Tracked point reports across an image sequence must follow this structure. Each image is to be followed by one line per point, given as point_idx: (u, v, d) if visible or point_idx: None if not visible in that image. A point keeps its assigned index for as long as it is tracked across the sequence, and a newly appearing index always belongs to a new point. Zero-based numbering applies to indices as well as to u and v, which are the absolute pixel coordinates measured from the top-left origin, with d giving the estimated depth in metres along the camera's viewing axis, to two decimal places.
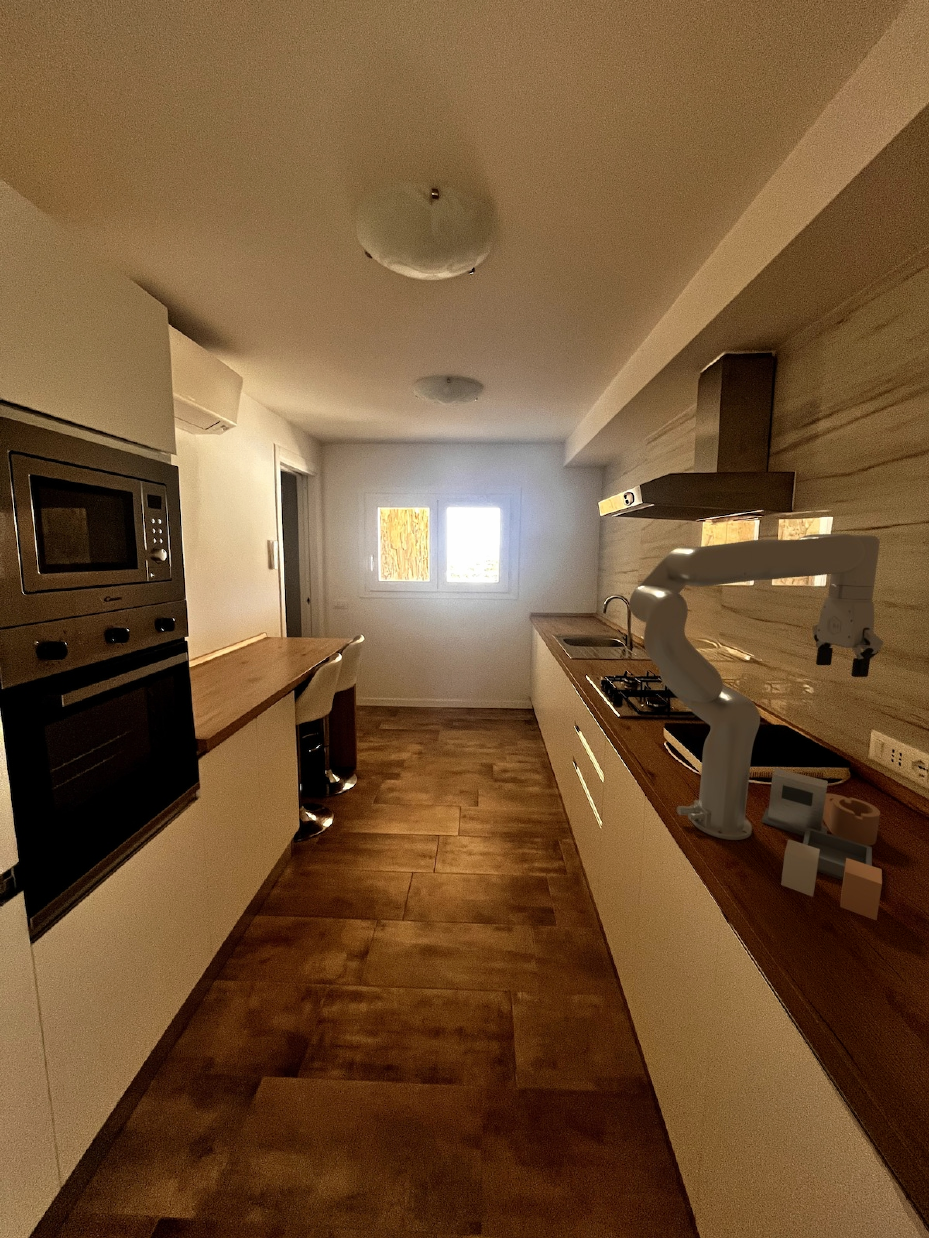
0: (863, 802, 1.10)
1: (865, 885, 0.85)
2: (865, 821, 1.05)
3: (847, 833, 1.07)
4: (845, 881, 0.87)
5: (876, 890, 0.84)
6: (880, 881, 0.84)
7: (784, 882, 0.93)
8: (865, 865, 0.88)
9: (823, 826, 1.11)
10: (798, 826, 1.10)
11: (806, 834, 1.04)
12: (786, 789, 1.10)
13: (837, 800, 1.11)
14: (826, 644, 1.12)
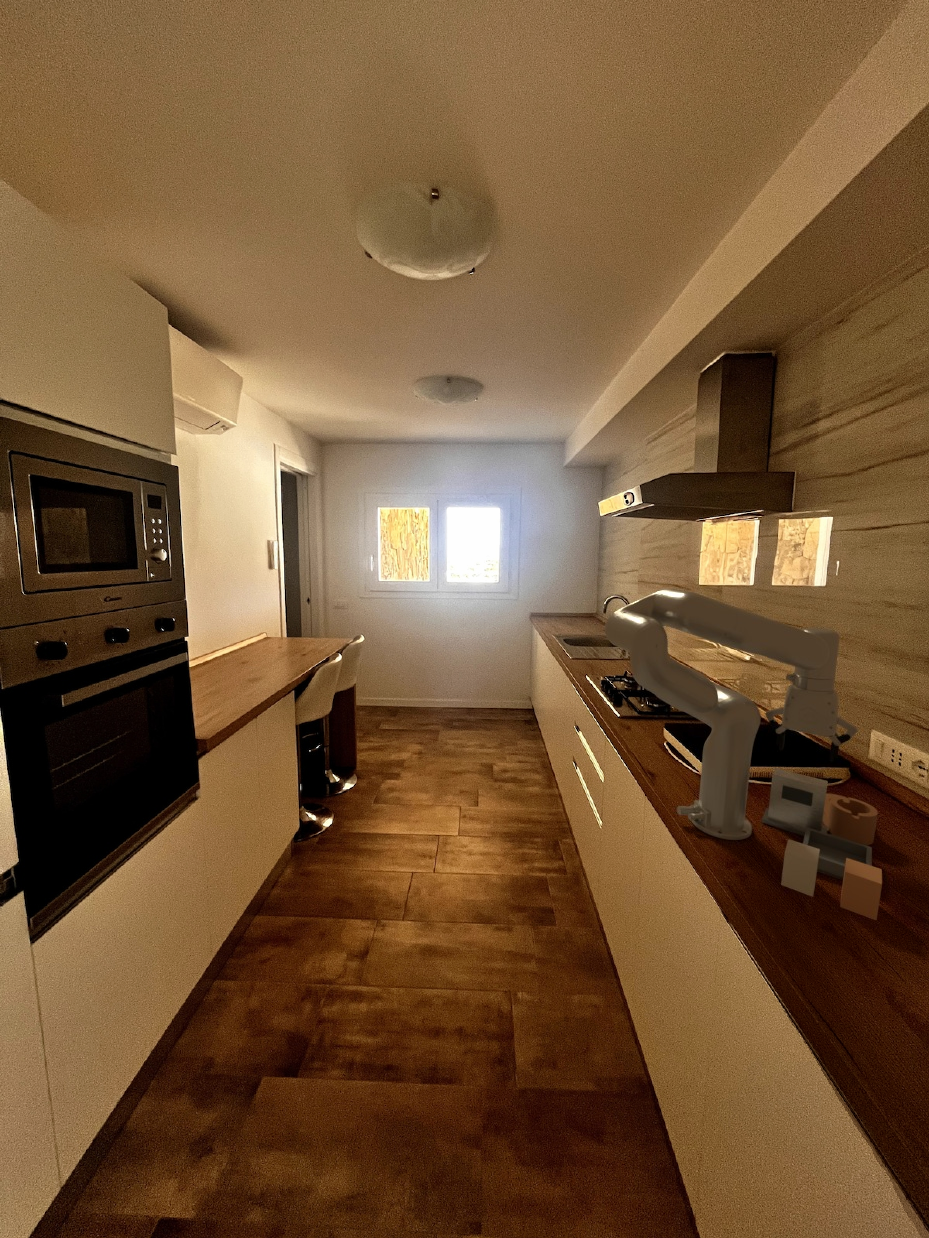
0: (861, 802, 1.10)
1: (865, 885, 0.85)
2: (862, 821, 1.05)
3: (844, 832, 1.07)
4: (845, 881, 0.87)
5: (876, 890, 0.84)
6: (880, 881, 0.84)
7: (784, 882, 0.93)
8: (865, 865, 0.88)
9: (823, 826, 1.11)
10: (798, 826, 1.10)
11: (806, 834, 1.04)
12: (786, 789, 1.10)
13: (835, 799, 1.11)
14: None
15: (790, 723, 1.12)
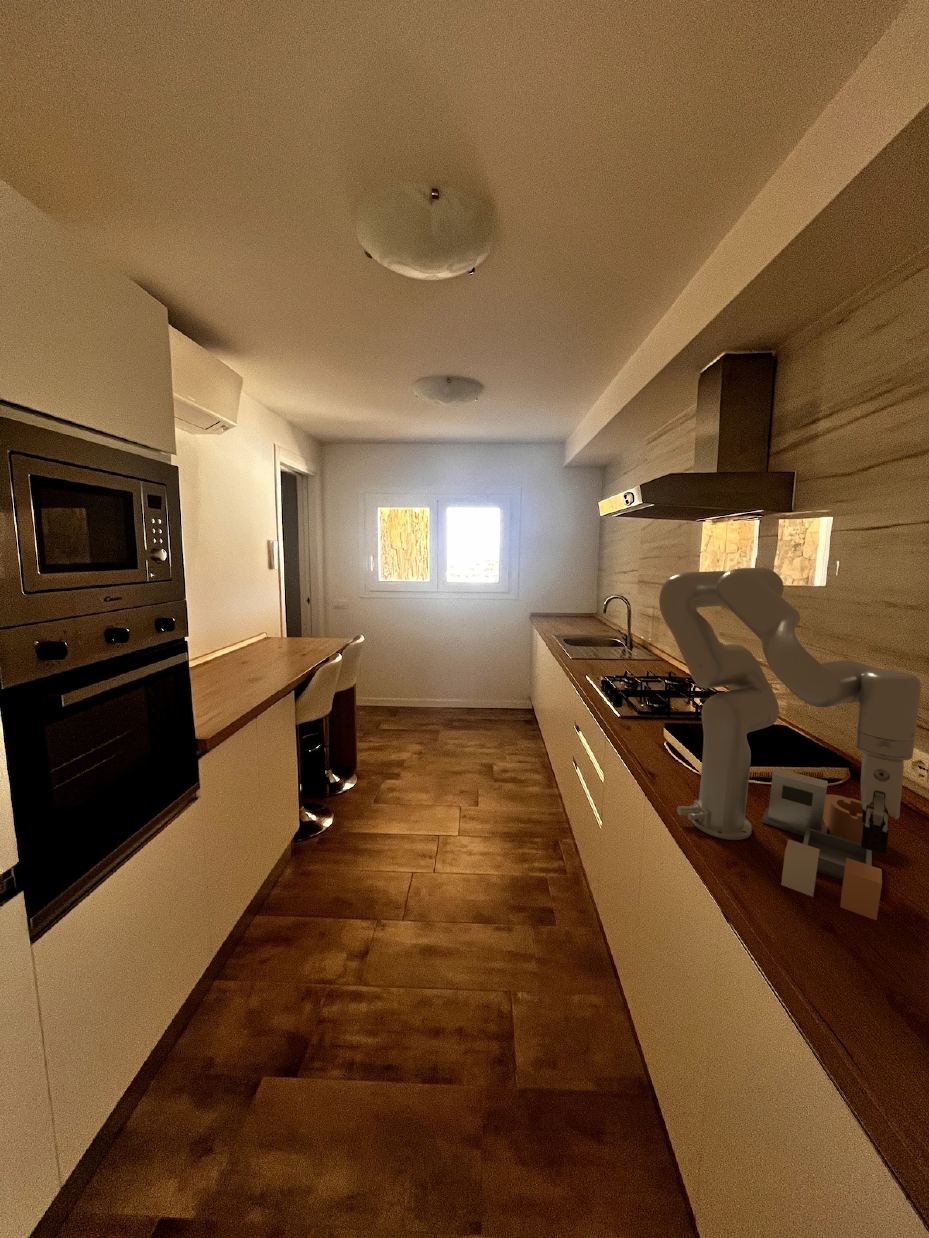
0: None
1: (865, 885, 0.85)
2: (860, 821, 1.05)
3: (842, 832, 1.07)
4: (845, 881, 0.87)
5: (876, 890, 0.84)
6: (880, 881, 0.84)
7: (784, 882, 0.93)
8: (865, 865, 0.88)
9: (823, 826, 1.11)
10: (798, 826, 1.10)
11: (806, 834, 1.04)
12: (786, 789, 1.10)
13: (835, 799, 1.11)
14: None
15: None
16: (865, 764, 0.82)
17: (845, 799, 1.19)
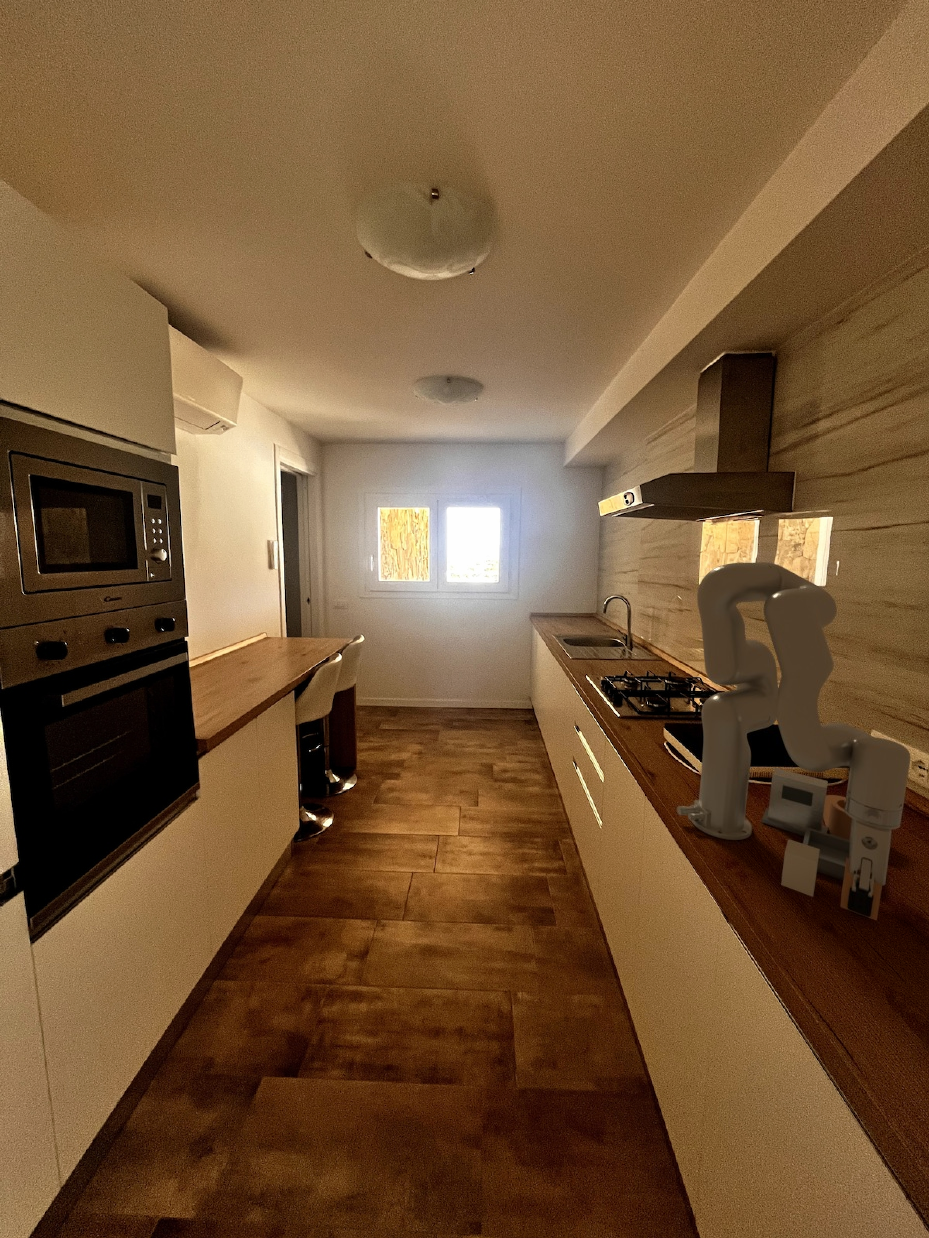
0: None
1: None
2: None
3: (842, 832, 1.07)
4: (845, 881, 0.87)
5: (876, 890, 0.84)
6: None
7: (784, 882, 0.93)
8: None
9: (823, 826, 1.11)
10: (798, 826, 1.10)
11: (806, 834, 1.04)
12: (786, 789, 1.10)
13: (836, 800, 1.11)
14: None
15: None
16: (854, 830, 0.84)
17: None
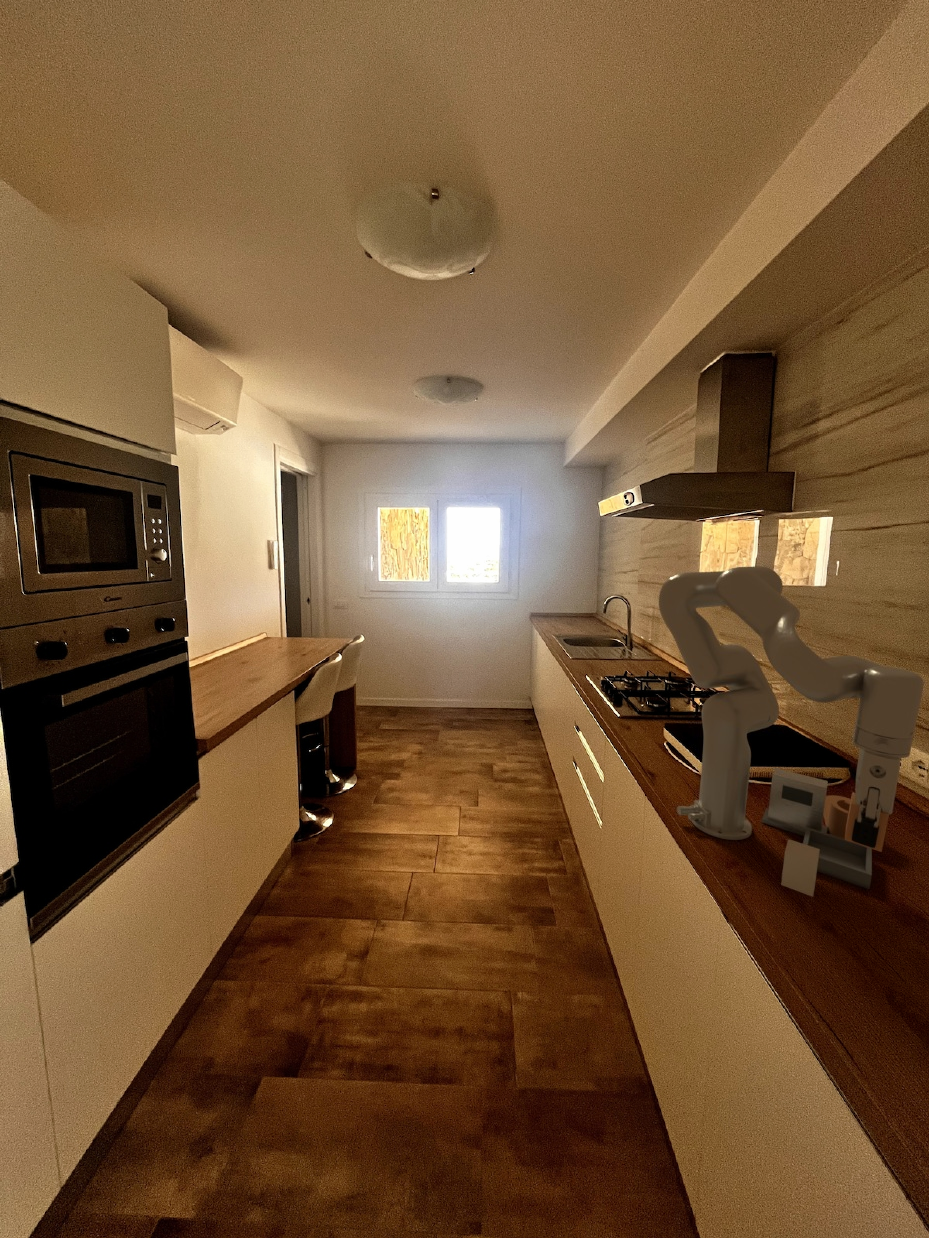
0: None
1: None
2: None
3: (841, 832, 1.07)
4: (851, 813, 0.85)
5: (882, 821, 0.83)
6: None
7: (784, 882, 0.93)
8: None
9: (823, 826, 1.11)
10: (798, 826, 1.10)
11: (806, 834, 1.04)
12: (786, 789, 1.10)
13: (836, 800, 1.11)
14: None
15: None
16: (862, 760, 0.82)
17: (848, 800, 1.19)
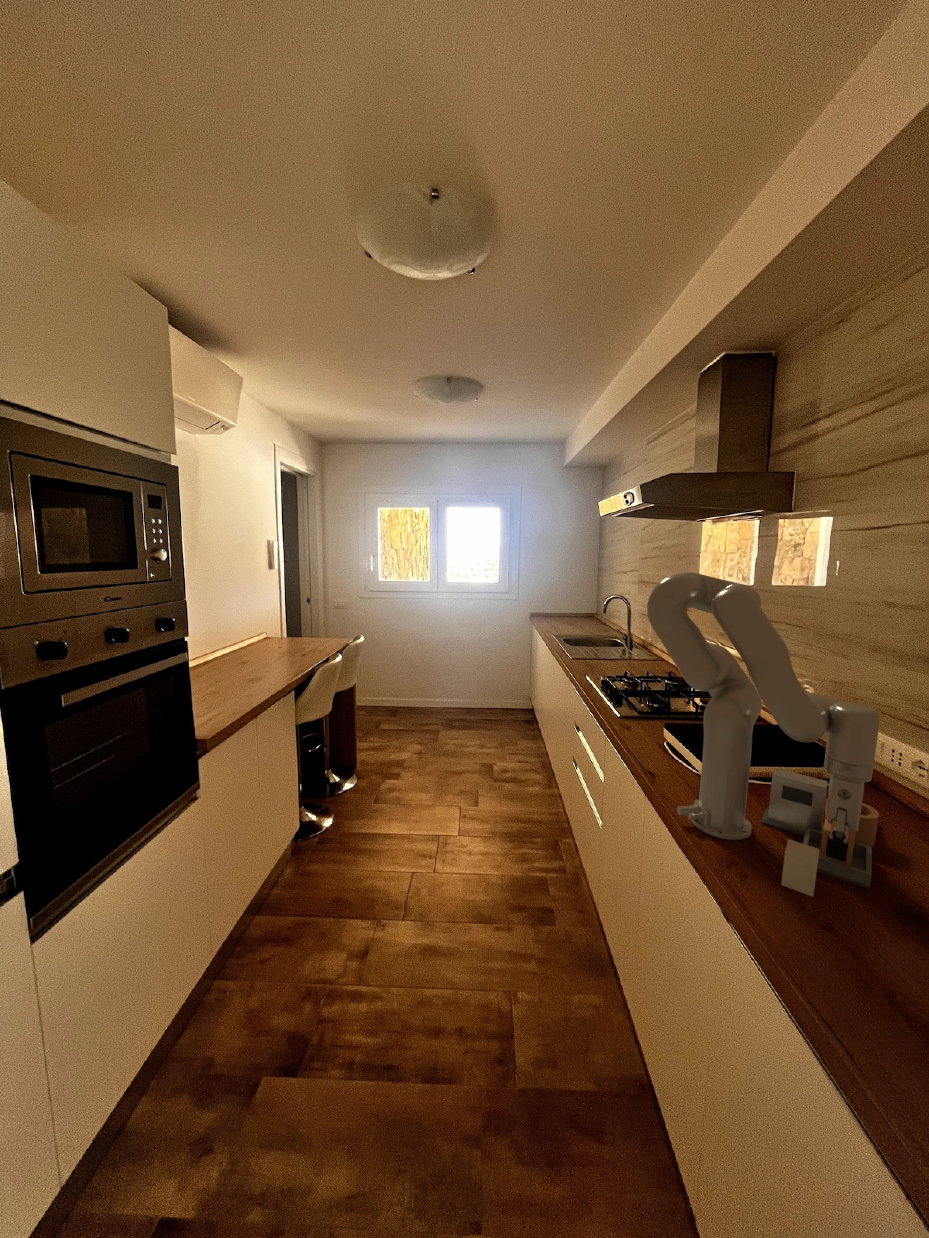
0: (865, 805, 1.09)
1: None
2: (859, 822, 1.04)
3: None
4: (823, 838, 0.98)
5: (849, 845, 0.96)
6: (853, 837, 0.96)
7: (784, 882, 0.93)
8: None
9: (823, 826, 1.11)
10: (798, 826, 1.10)
11: (806, 834, 1.04)
12: (786, 789, 1.10)
13: None
14: None
15: None
16: (831, 784, 0.95)
17: None
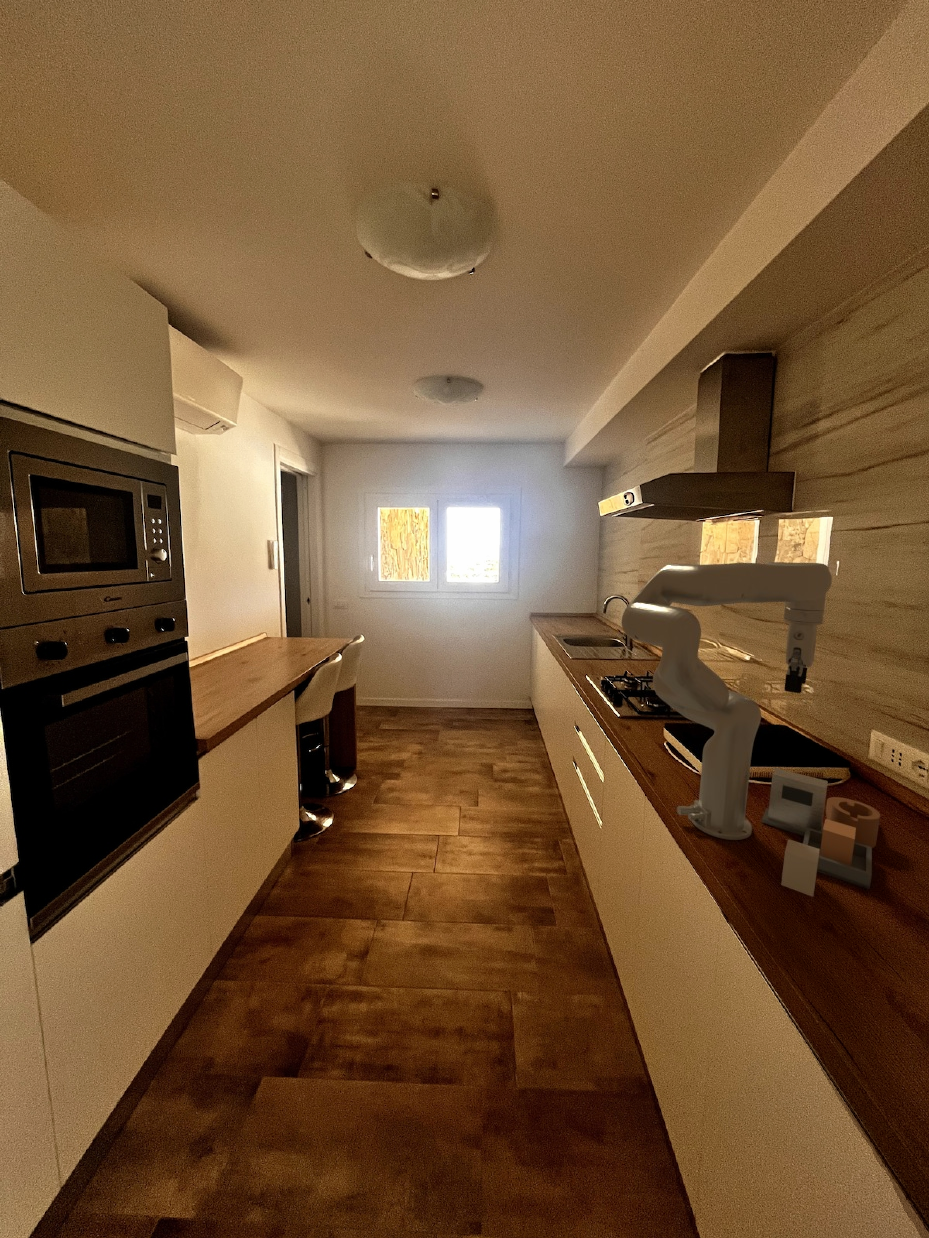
0: (866, 806, 1.09)
1: (840, 841, 0.97)
2: (860, 823, 1.04)
3: None
4: (823, 838, 0.98)
5: (849, 845, 0.96)
6: (853, 837, 0.96)
7: (784, 882, 0.93)
8: (841, 824, 1.00)
9: (823, 826, 1.11)
10: (798, 826, 1.10)
11: (806, 834, 1.04)
12: (786, 789, 1.10)
13: (838, 801, 1.10)
14: None
15: (811, 660, 1.11)
16: (789, 630, 1.13)
17: (853, 802, 1.18)
